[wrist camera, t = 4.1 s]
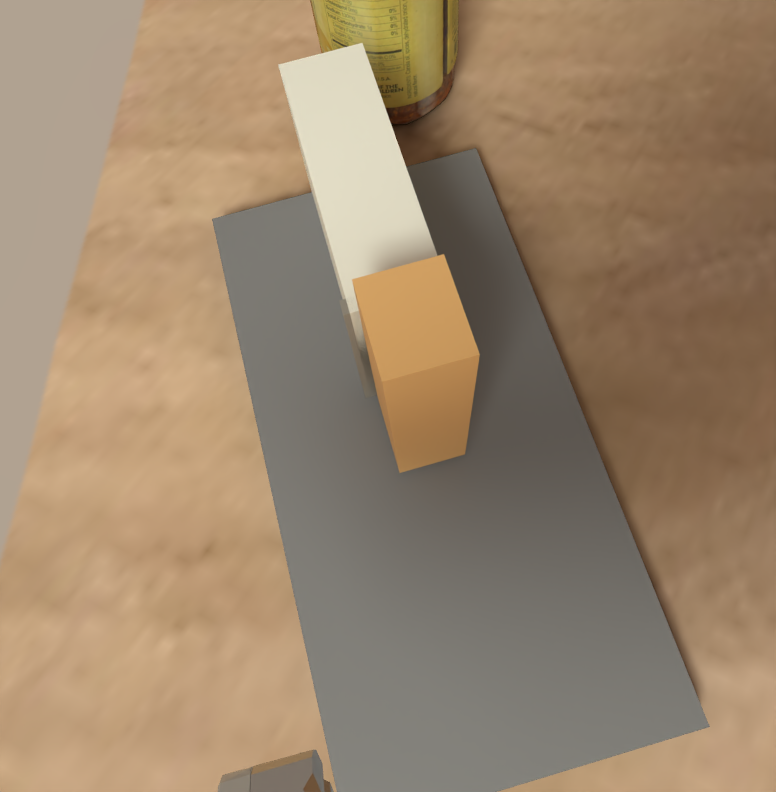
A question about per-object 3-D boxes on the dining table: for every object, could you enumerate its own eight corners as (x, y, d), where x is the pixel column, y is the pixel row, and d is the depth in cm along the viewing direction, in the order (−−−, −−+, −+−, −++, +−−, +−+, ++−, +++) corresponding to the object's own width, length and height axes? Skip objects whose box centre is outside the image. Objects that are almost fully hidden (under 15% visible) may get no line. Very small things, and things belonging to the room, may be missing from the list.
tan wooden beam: (441, 381, 27) (444, 254, 18) (465, 454, 26) (479, 354, 17) (378, 399, 26) (351, 279, 18) (399, 473, 25) (381, 382, 17)
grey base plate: (474, 166, 32) (486, 9, 24) (696, 723, 23) (824, 755, 16) (219, 234, 31) (150, 98, 24) (351, 828, 23) (308, 914, 15)
